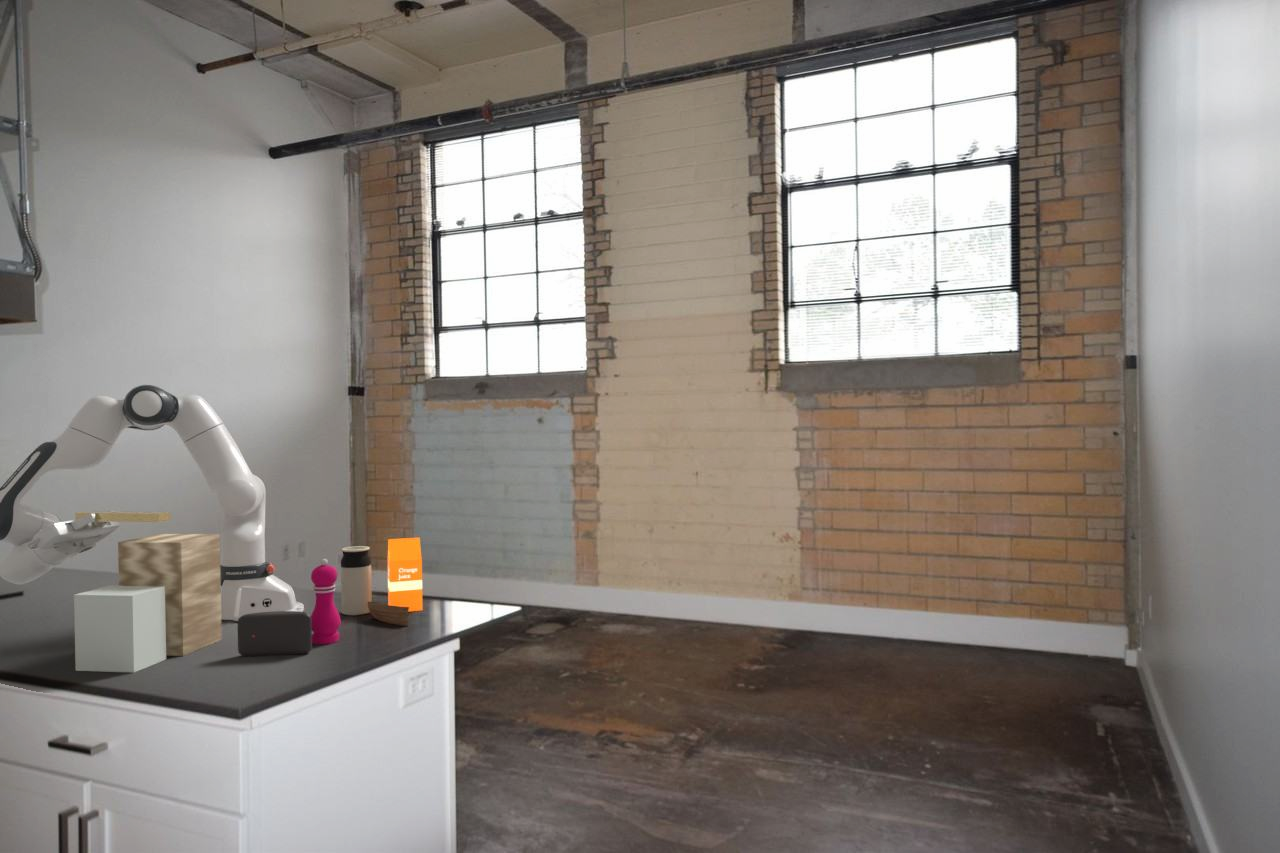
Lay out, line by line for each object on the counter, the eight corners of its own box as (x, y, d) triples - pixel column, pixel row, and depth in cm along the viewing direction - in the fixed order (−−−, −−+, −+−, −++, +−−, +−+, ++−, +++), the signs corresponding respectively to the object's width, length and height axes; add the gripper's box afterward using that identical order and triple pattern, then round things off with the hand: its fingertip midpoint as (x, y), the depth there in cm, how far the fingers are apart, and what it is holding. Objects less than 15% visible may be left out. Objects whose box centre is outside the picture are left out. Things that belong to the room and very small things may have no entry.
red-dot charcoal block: (316, 649, 200) (315, 609, 200) (310, 654, 195) (310, 613, 195) (244, 652, 198) (243, 611, 198) (236, 657, 194) (236, 616, 194)
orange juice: (388, 607, 243) (386, 537, 243) (419, 604, 246) (418, 535, 246) (390, 613, 236) (389, 541, 236) (423, 610, 239) (421, 539, 239)
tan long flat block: (75, 521, 204) (75, 513, 204) (88, 519, 208) (88, 511, 208) (158, 522, 201) (158, 513, 201) (170, 520, 205) (170, 511, 205)
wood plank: (412, 625, 222) (412, 606, 222) (406, 627, 220) (405, 607, 220) (373, 618, 230) (373, 600, 230) (367, 620, 229) (366, 601, 229)
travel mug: (372, 614, 235) (371, 549, 235) (342, 617, 232) (341, 551, 232) (370, 608, 242) (369, 545, 242) (341, 611, 239) (339, 547, 239)
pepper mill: (307, 646, 202) (306, 562, 202) (311, 638, 209) (309, 557, 209) (340, 643, 204) (338, 560, 204) (342, 636, 211) (340, 555, 211)
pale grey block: (75, 670, 185) (74, 594, 185) (110, 657, 195) (109, 585, 195) (134, 672, 183) (132, 595, 183) (166, 659, 193) (164, 586, 193)
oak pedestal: (120, 654, 198) (118, 542, 197) (162, 638, 212) (160, 533, 211) (183, 655, 195) (181, 542, 195) (221, 640, 209) (219, 534, 209)
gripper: (16, 537, 197) (62, 507, 195) (85, 526, 217) (127, 499, 216) (28, 560, 197) (75, 531, 195) (97, 547, 217) (139, 520, 215)
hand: (103, 514), depth 206 cm, fingers closed on tan long flat block, 4 cm apart
